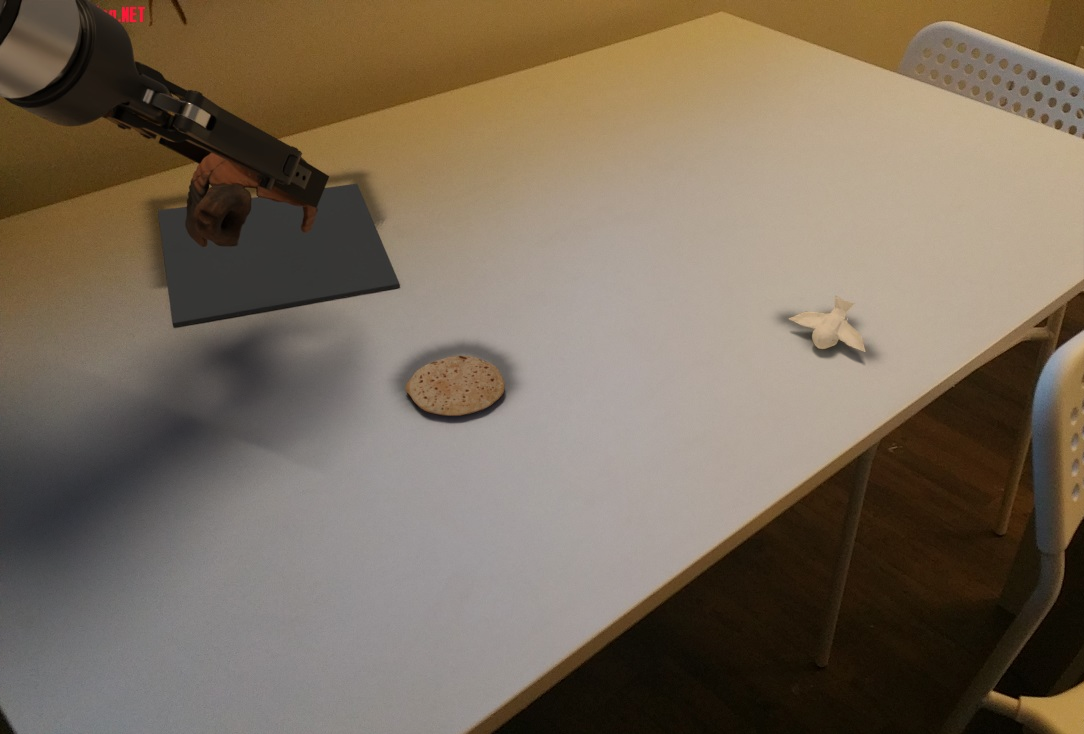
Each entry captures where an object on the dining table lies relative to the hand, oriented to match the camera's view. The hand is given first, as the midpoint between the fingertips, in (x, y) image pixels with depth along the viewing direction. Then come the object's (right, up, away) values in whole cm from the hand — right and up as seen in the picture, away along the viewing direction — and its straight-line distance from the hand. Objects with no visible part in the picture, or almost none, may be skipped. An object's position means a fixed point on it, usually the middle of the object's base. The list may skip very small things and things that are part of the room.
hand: (271, 174), depth 79 cm
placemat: (-7, -4, +19) cm, 20 cm away
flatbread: (+14, -18, +5) cm, 23 cm away
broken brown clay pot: (-2, -5, 0) cm, 5 cm away
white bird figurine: (+47, -13, +14) cm, 51 cm away
